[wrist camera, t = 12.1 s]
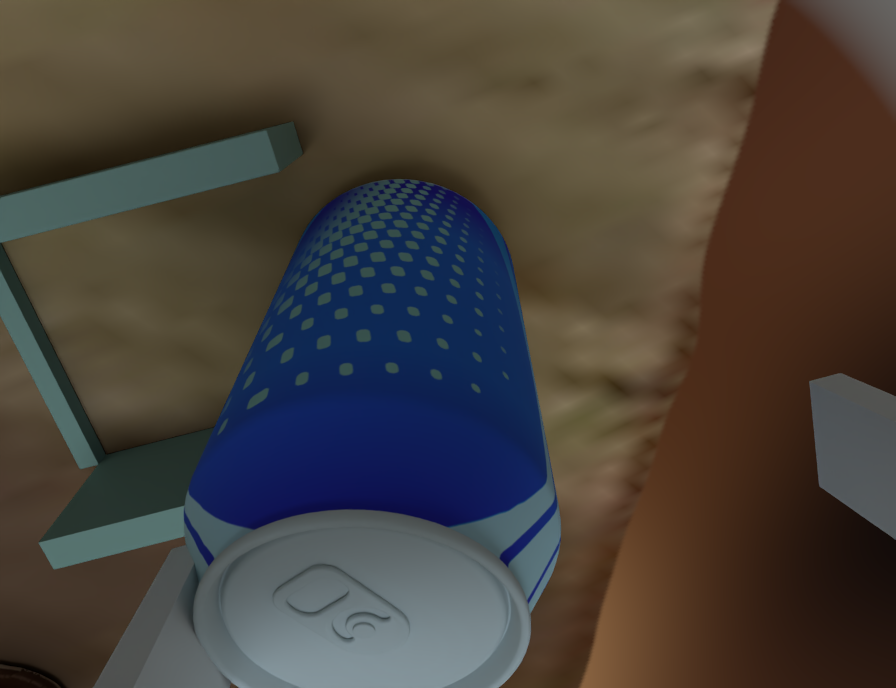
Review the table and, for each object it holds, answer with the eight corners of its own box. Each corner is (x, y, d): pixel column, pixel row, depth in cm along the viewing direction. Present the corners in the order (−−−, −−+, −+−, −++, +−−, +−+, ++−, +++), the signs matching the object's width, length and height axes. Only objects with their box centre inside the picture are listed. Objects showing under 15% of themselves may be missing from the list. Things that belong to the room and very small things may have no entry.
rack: (-42, 206, 25) (-167, 240, 19) (292, 121, 25) (266, 130, 19) (99, 482, 29) (32, 575, 24) (381, 410, 29) (381, 486, 24)
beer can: (513, 163, 24) (598, 474, 11) (509, 355, 29) (565, 744, 15) (283, 170, 24) (78, 487, 11) (315, 360, 29) (199, 750, 15)
